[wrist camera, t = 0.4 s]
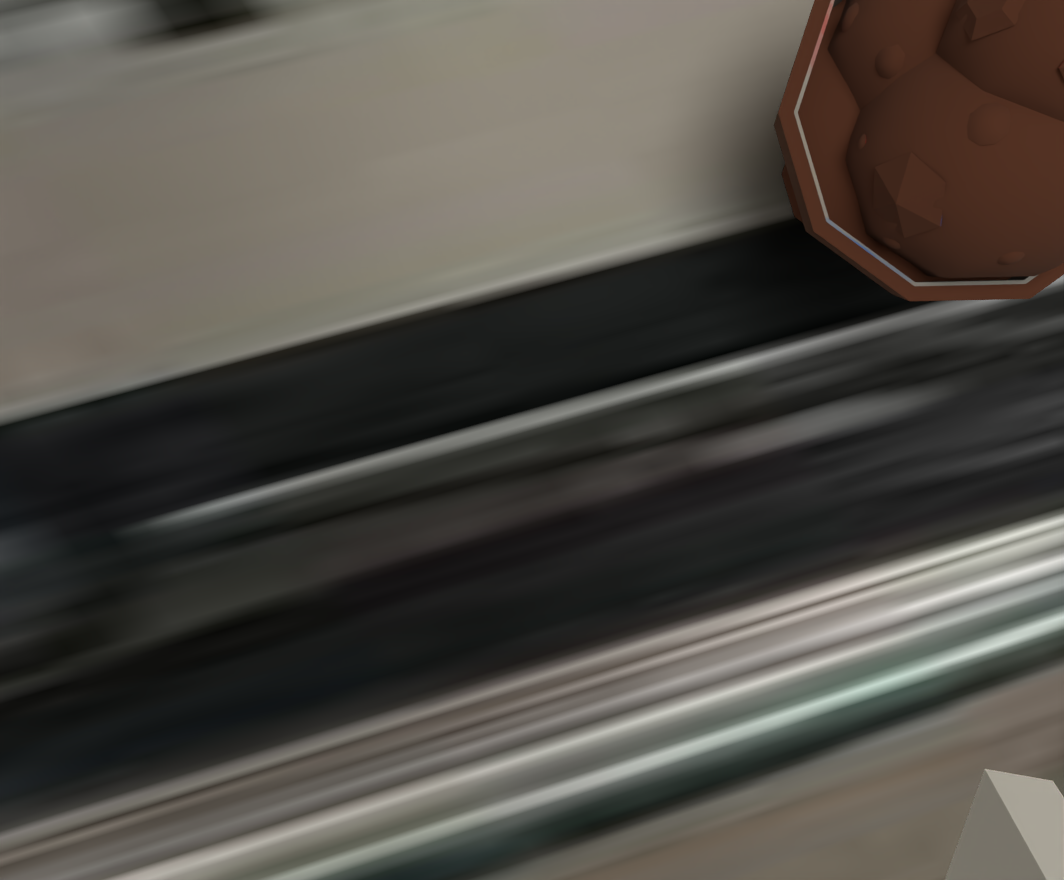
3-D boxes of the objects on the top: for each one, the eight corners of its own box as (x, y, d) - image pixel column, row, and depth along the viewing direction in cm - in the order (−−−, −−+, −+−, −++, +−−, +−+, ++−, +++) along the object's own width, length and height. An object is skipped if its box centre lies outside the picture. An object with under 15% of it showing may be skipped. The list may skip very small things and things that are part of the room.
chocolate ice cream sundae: (711, 33, 32) (859, -228, 17) (1003, 26, 32) (1407, -243, 17) (709, 312, 33) (844, 295, 18) (989, 306, 33) (1353, 284, 18)
